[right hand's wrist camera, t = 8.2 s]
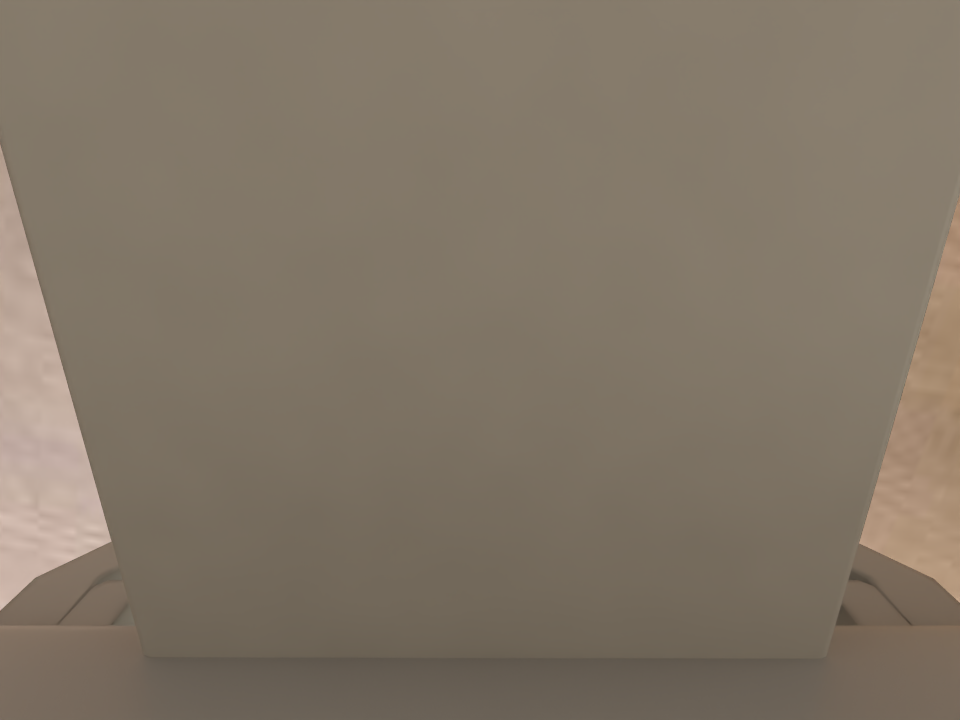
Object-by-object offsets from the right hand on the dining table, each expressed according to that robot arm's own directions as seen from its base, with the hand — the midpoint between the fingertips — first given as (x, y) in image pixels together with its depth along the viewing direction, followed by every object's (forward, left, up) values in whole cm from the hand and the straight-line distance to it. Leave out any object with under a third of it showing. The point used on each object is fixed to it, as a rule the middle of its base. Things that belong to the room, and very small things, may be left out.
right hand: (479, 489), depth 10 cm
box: (0, +10, -4) cm, 11 cm away
